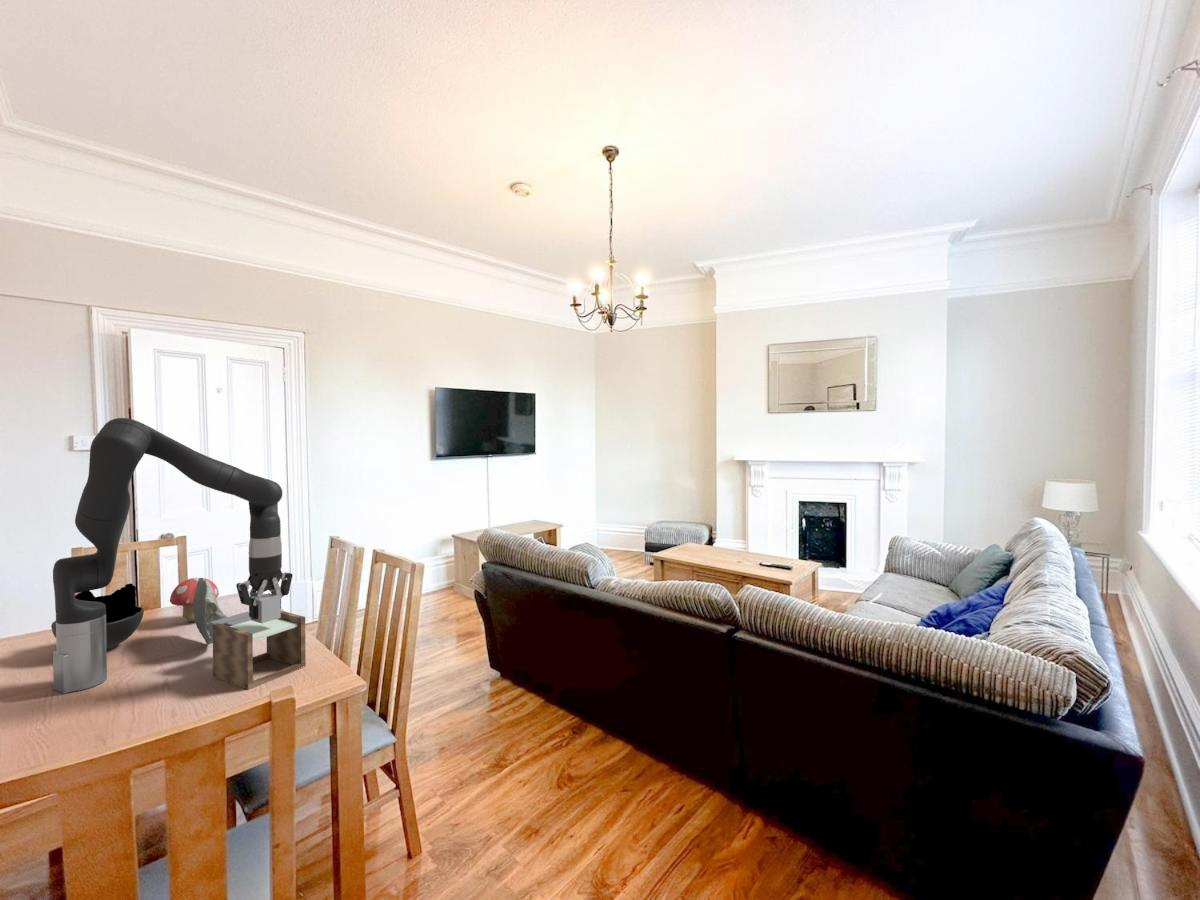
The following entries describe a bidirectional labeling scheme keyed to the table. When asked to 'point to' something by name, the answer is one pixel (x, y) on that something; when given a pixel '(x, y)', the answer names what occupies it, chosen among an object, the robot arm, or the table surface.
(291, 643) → the wooden bench shelf
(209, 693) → the table surface
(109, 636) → the coal bowl
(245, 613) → the trapdoor
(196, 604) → the rock
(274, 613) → the gray block
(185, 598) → the decorative mushroom
